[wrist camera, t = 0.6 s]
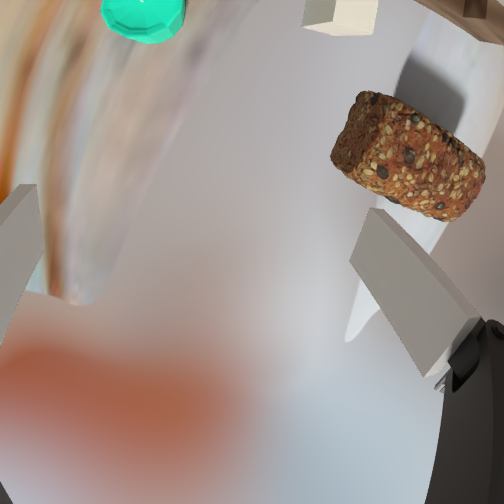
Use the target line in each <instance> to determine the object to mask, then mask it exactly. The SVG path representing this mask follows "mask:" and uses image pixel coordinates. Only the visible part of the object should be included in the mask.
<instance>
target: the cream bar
mask: <svg viewBox="0 0 504 504" xmlns="http://www.w3.org/2000/svg"><path fill="white" fill-rule="evenodd" d="M378 1H379V0H306V5H305V10H304V16H303V21H302V26H301V27H304V28H308V29H311V30H315V31H319V32H323V33H326V34H330V35H333V36H349V35H372V34H373V29H374V24H375V19H376V13H377V7H378Z"/></svg>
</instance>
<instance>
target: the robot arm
mask: <svg viewBox="0 0 504 504" xmlns="http://www.w3.org/2000/svg"><path fill="white" fill-rule="evenodd" d="M45 248H46V247H45V242H44V236H43V230H42V224H41V218H40V211H39V203H38V195H37V185H36V184H20V185H19V186H18V187H17V188H16V189H15V190H14V191H13V192H12V193H11V194H10V195H9V196H8V197H7V198H6V199H5V200H4V201H3V202H2V203H1V205H0V347H1V344H2V342H3V339H4V336H5V333H6V331H7V329H8V326H9V323H10V321H11V319H12V317H13V314H14V311H15V309H16V307H17V305H18V303H19V300H20V298H21V296H22V294H23V292H24V290H25V287H26V285H27V283H28V281H29V279H30V277H31V275H32V273H33V271H34V269H35V267H36V265H37V263H38V261H39V259H40V257H41V255H42V254H43V252H44V250H45ZM350 263H351V264H352V266H353V267H354V269H355V270H356V272H357V273H358V275H359V276H360V278H361V279H362V281H363V282H364V283H365V285H366V286H367V288H368V289H369V291H370V293H371V294H372V296H373V297H374V299H375V300H376V302H377V303H378V305H379V306H380V308H381V309H382V311H383V312H384V314H385V315H386V317H387V319H388V320H389V322H390V323H391V325H392V326H393V328H394V330H395V331H396V333H397V335H398V336H399V338H400V340H401V341H402V343H403V344H404V346H405V348H406V349H407V351H408V352H409V354H410V356H411V358H412V359H413V361H414V362H415V364H416V366H417V368H418V369H419V371H420V373H421V375H422V376H423V377H427V376H431V375H434V374H437V373H438V372H439V371H440V370H441V369H442V368H443V366H444V365H445V364H446V363H447V362H448V363H449V365H450V366H451V368H450V369H449V370H448V372H447V373H446V374H445V375H444V376H443V377H442V378H441V380H440V381H439V382H438V383H437V384H436V385H435V388H434V389H435V390H437V389H438V388H439V387H440V386H441V384H445V386H444V387H443V388H442V389H441V390H440V392H442V393H444V402H443V411H442V419H441V426H440V433H439V439H438V445H437V451H436V456H435V462H434V466H433V471H432V476H431V480H430V485H429V489H428V493H427V497H426V500H425V504H504V326H503V325H502V324H501V323H499V322H498V321H495V320H488V321H487V322H485V321H484V320H483V319H482V317H481V315H480V313H479V312H478V311H477V310H476V308H475V307H474V306H473V305H472V303H471V302H470V301H469V300H468V299H467V298H466V296H465V295H464V294H463V293H462V292H461V291H460V289H459V288H458V287H457V286H456V285H455V284H454V282H452V280H451V279H450V278H449V277H448V276H447V275H446V273H445V272H444V271H443V270H442V269H441V268H440V267H439V266H438V265H437V263H436V262H435V261H434V260H433V259H432V258H431V257H430V256H429V255H428V254H427V253H426V252H425V250H424V249H423V248H422V247H421V246H420V245H419V244H418V243H417V242H416V241H415V240H414V239H413V238H412V237H411V236H410V235H409V234H408V233H407V232H406V231H405V230H404V229H403V228H402V227H401V226H400V225H399V224H398V223H397V222H396V221H395V220H394V219H393V218H392V217H391V216H390V215H389V214H388V213H387V212H386V211H385V210H383V209H377V208H370V209H369V211H368V214H367V217H366V220H365V222H364V225H363V227H362V230H361V232H360V235H359V238H358V241H357V243H356V246H355V248H354V250H353V253H352V255H351V258H350ZM0 504H13V503H12V501H11V499H10V498H9V496H8V494H7V493H6V491H5V489H4V488H3V486H2V484H1V482H0Z"/></svg>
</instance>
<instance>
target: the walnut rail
mask: <svg viewBox="0 0 504 504" xmlns="http://www.w3.org/2000/svg"><path fill="white" fill-rule="evenodd" d="M414 1H416V2H418V3H420V4H422V5H424V6H425V7H427V8H429V9H431V10H432V11H434V12H436V13H438V14H439V15H441V16H443V17H444V18H446V19H448V20H449V21H451V22H452V23H454V24H455V25H457V26H459V27H460V28H462V29H463V30H465V31H466V32H467V33H469V34H470V35H472V36H473V37H475V38H476V39H477V40H479V41H483V42H489V43H494V44H499V45H504V7H503V6H502V5H501V4H500V3H499V2H498V1H497V0H414Z"/></svg>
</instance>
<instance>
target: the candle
mask: <svg viewBox="0 0 504 504" xmlns="http://www.w3.org/2000/svg"><path fill="white" fill-rule="evenodd" d="M100 12H101V14H102V16H103V18H104V20H105V22H106V24H107V26H108V27H109V28H110V29H112V30H113V31H115V32H117V33H119V34H121V35H123V36H125V37H127V38H130V39H133V40H136V41H139V42H142V43H161V42H163V41H165V40H167V39H169V38H172V37H174V35H175V34H176V33H177V32H178V30H179V29H180V28H181V27H182V26H183V21H184V15H185V0H103V1H102V6H101V11H100Z"/></svg>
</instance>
